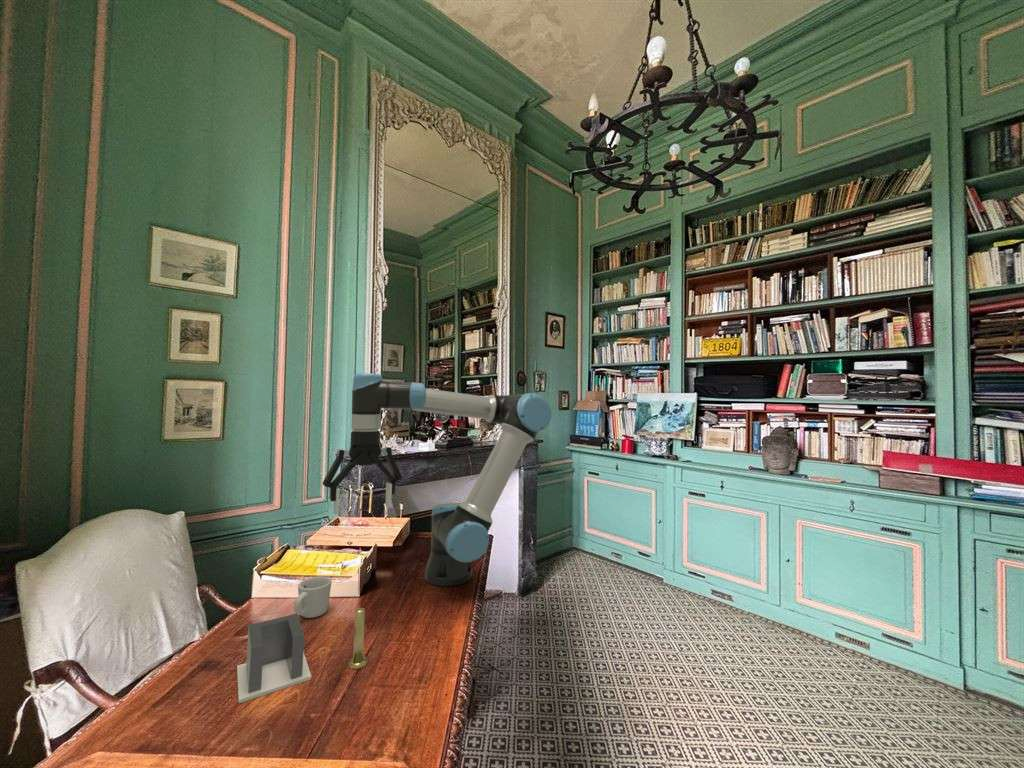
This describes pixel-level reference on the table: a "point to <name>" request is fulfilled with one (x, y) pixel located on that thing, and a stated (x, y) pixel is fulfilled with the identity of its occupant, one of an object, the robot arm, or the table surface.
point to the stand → (358, 641)
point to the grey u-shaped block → (274, 647)
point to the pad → (270, 679)
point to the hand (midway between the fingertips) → (363, 510)
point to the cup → (313, 597)
